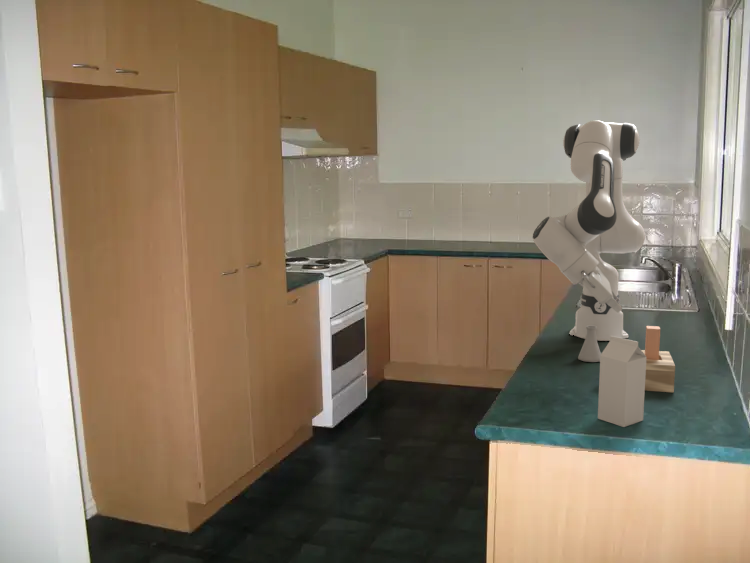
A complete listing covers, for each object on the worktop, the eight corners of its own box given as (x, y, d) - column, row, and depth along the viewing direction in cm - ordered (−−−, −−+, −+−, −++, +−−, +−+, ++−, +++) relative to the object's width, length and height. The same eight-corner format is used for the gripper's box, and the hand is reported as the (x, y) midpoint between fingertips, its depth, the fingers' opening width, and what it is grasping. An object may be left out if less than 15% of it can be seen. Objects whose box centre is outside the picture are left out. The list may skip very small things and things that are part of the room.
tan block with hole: (628, 374, 202) (629, 349, 201) (667, 376, 199) (668, 351, 198) (631, 389, 189) (633, 363, 188) (673, 392, 186) (675, 365, 185)
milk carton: (624, 428, 162) (628, 344, 159) (597, 419, 168) (600, 338, 165) (643, 421, 166) (647, 339, 163) (616, 412, 172) (620, 333, 169)
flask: (598, 356, 221) (599, 323, 219) (606, 362, 214) (607, 329, 212) (574, 356, 221) (575, 324, 219) (581, 363, 213) (583, 329, 212)
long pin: (643, 380, 196) (646, 325, 194) (656, 381, 195) (659, 326, 193) (644, 384, 193) (647, 328, 191) (657, 385, 192) (660, 329, 190)
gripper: (591, 266, 183) (631, 306, 182) (590, 255, 203) (626, 291, 202) (572, 283, 185) (611, 323, 184) (573, 271, 205) (608, 307, 204)
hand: (619, 306), depth 193 cm, fingers open, 8 cm apart
